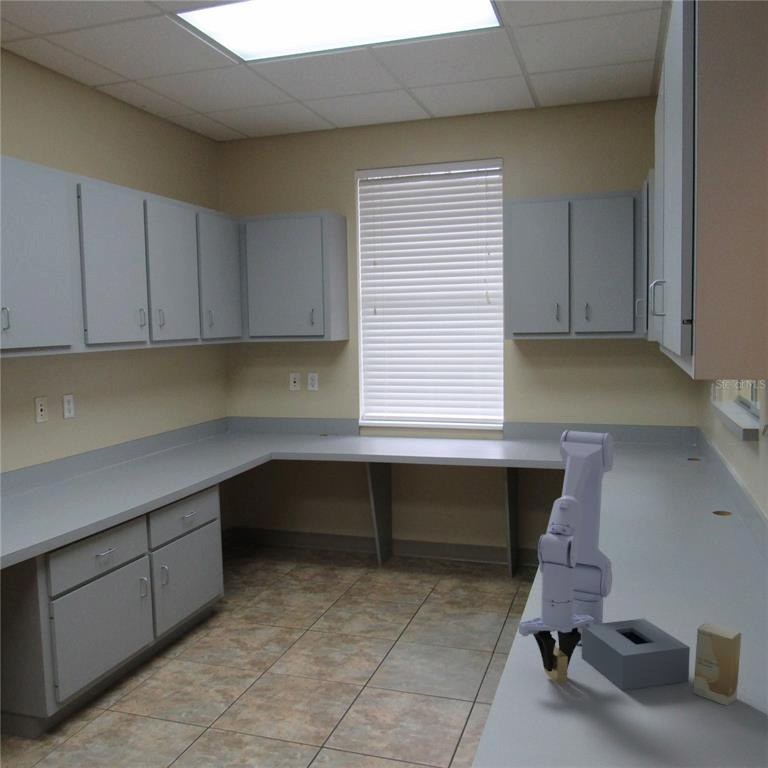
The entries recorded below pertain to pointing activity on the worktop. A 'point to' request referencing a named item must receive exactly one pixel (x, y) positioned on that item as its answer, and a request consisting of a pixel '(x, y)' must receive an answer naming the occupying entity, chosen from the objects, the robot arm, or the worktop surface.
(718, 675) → the skincare box
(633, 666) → the slot box
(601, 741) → the worktop surface
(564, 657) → the block
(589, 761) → the worktop surface
